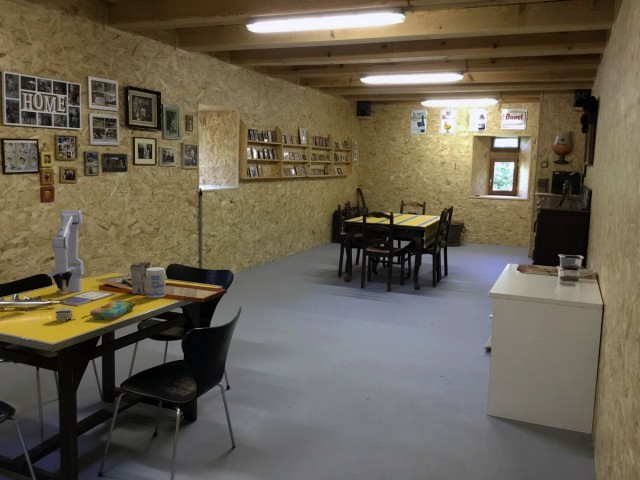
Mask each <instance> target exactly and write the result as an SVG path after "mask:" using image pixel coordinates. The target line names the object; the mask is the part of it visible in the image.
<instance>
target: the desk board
mask: <svg viewBox="0 0 640 480" xmlns="http://www.w3.org/2000/svg"><path fill="white" fill-rule="evenodd" d="M91 291H93V292H101V293H109V294H112V295H108V296H105V297H102V298H99V299H95V300H93V299H90V300H91V302H89V303H86V304H82V305H79V306H75V305H68V304H64V301H66V300H70V299H73V298H78V297H74V296H77V295H80V294H84V293H87V292H91ZM116 295H117V293H114V292H105V291H99V290H89V291H85V292H81V293H77V294H74V295H70V296H68V297H64V298H59V299H57V300H55V301H60V302H59V303H55V304H56V305H57V304H58V305H63V306H68V307H77V308H78V307H80V306H83V305H87V304H90V303H93V302H96V301H100V300H103V299H106V298H109V297H112V296H116ZM84 299H86V298H84Z"/></svg>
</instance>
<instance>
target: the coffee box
mask: <svg viewBox="0 0 640 480" xmlns="http://www.w3.org/2000/svg"><path fill="white" fill-rule="evenodd" d="M147 268H151V262H142V261H141V262H140V261H139V262H137V263H135V264H131V265H130V271H131V272H130V275H131V292H132V294H135V295H136V294H139V295H140V296H142V297H143V296H146V269H147Z"/></svg>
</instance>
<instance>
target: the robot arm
mask: <svg viewBox="0 0 640 480" xmlns="http://www.w3.org/2000/svg"><path fill="white" fill-rule="evenodd" d="M59 219H60V221H61V226H60V227H58V229H57V230H56V234H55V236H54V237H52V238H51V247H52V253H53V255H54V256H53V257H54V270H52V271H49V272H47V276H48V277H50V278H52V279H53V281H54V283H55V284H56V287H57V290H59V289H62V280H63V279H65V280H66V289H69V290H70V294H76V293H77V294H78V293H80V292H81V293H82V292H83V290H82V276H83V275H84V273H85V267H84V261H83V260H81V259H80V258H78V257H79V255H78V253H79V251H78V250H79V228H80V227H82V226H83V212H82V210H81V209H73V210H72V209H71V210H65V209H62V210H60V212H59Z"/></svg>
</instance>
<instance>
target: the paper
mask: <svg viewBox="0 0 640 480" xmlns="http://www.w3.org/2000/svg"><path fill="white" fill-rule="evenodd" d="M90 291H91V290H90ZM93 291H94V290H92V291H91V292H88V291H86V292H87V293H84V292H83V293H84V294H81V293H79V294H80V295H77V294H76V295H77V296H74V295H73V296H74V297H78V298H86V299H93V300H95V299H99V298H102V297H105V296H108V295H112V294H109V293H110V292H107V293H101V292H102V291H100V292H93Z"/></svg>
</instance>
